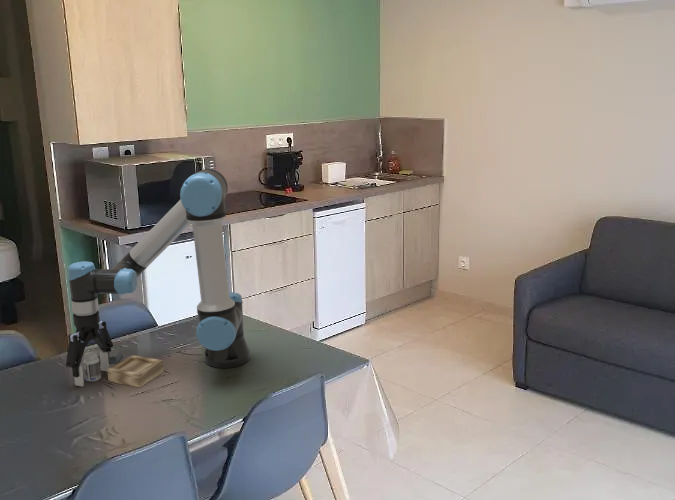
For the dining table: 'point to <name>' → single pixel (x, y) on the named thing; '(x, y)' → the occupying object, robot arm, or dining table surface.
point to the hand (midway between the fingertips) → (92, 377)
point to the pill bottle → (91, 366)
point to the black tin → (114, 356)
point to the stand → (135, 371)
